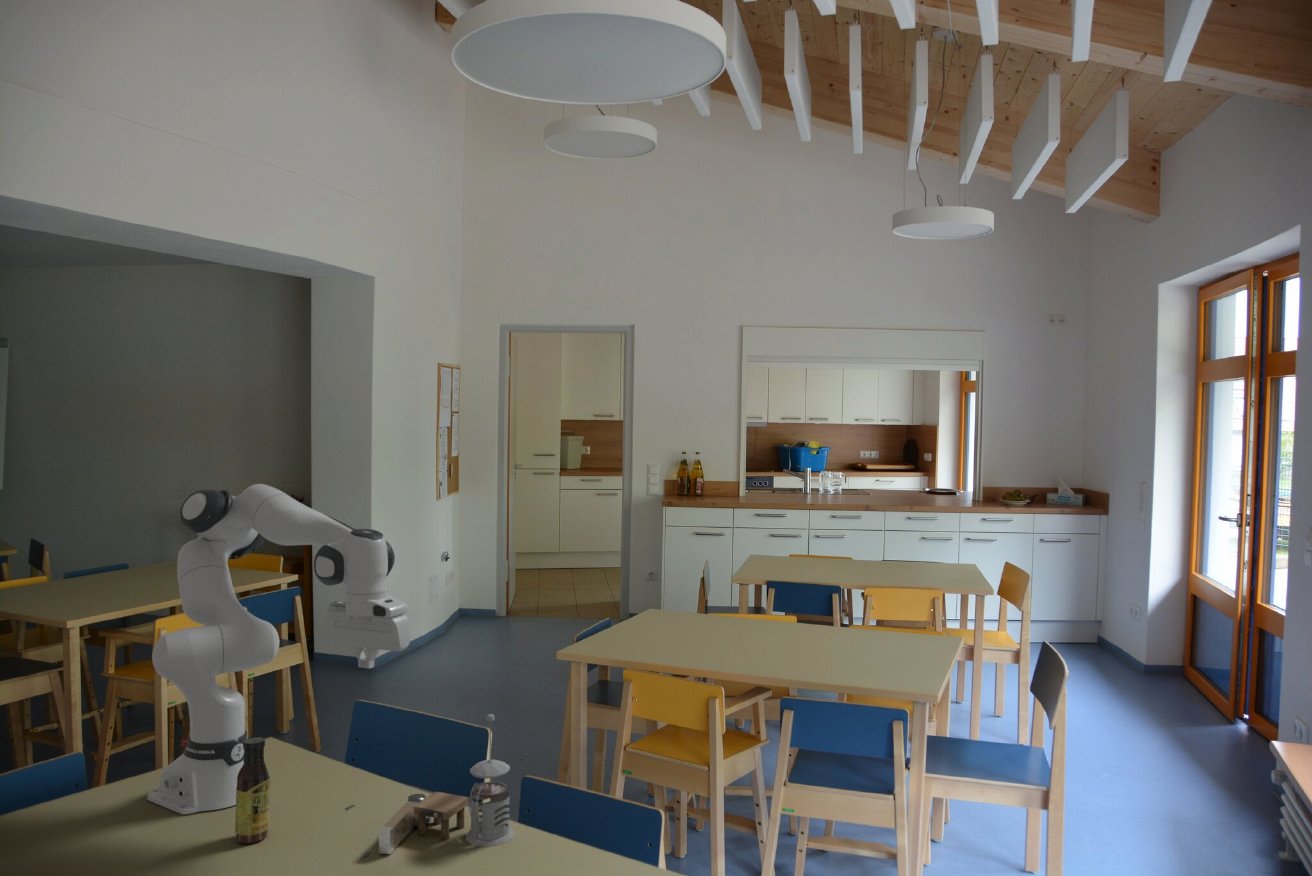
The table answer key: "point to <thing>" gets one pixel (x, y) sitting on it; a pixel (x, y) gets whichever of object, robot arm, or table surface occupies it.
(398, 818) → the cam lever
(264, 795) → the sauce bottle
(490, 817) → the french press
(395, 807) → the table surface
